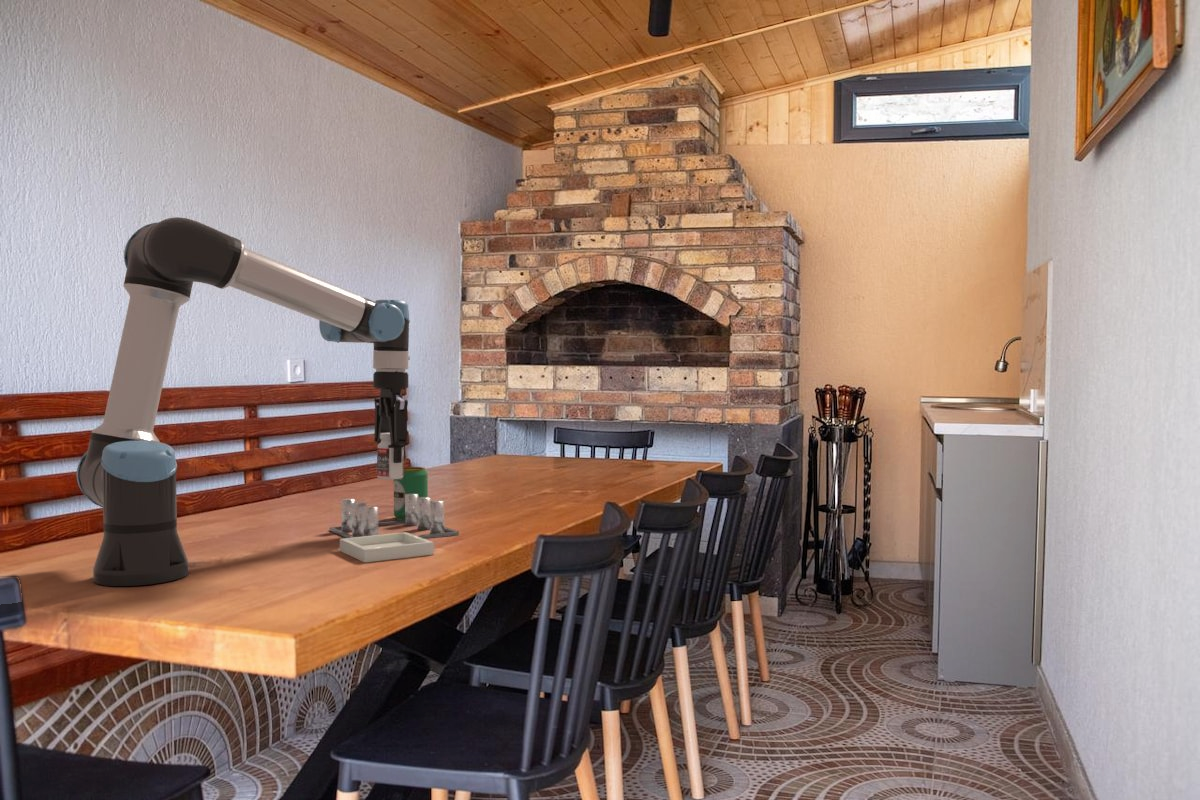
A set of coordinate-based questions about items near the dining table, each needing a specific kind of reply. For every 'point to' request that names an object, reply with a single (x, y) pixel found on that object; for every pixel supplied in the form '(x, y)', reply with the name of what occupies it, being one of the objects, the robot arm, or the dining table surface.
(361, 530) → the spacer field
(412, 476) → the beverage can
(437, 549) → the dining table surface
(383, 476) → the pill bottle
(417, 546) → the dish
